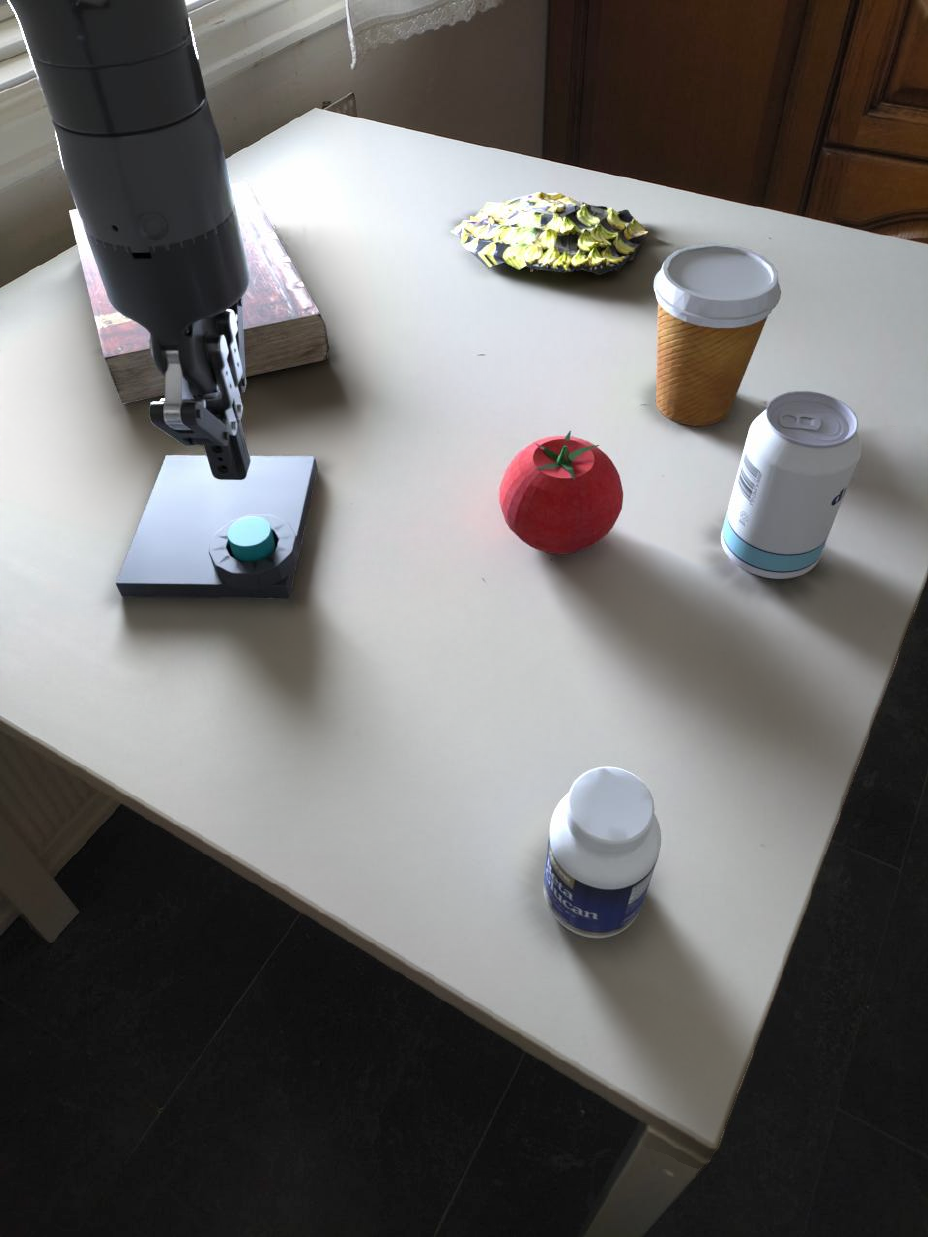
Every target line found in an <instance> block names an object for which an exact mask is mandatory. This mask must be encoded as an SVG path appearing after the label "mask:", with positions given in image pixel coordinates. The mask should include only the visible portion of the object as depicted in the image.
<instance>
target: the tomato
mask: <svg viewBox="0 0 928 1237" xmlns="http://www.w3.org/2000/svg"><path fill="white" fill-rule="evenodd" d="M571 433H572V430H569V431H568V433H567V434H566V435H553V436H547V437H544V438H540V439H538V440H536V441H533V442H531V443H530V444H528V445H527V446H526V447H524V448H522V449H521V450H520V451H519V452H517V454H516V455H515V456H514V457H513V458H512V460H511V461H510V462H509V464H508V465H507V467H506V469H505V471H504V472H503V475H502V478H501V480H500V485H499V490H498V503H499V506H500V508H501V512H502V515H503V518H504V521H505V523H506V524H507V526H508V528H509V529H510V531H512V532H513V533H514V534H515V535H516V537H518V538H519V539H520V541H522V542H523V543H525V545H527V546H529V547H531V548H533V549H535V550H537V551H541V552H544V553H549V554H555V555H556V554H557V555H558V554H559V555H560V554H565V555H566V554H572V553H578V552H580V551H584V550H586V549H588V548H590V547H592V546H594V545H595V544H596V543H598V542H599V541H600V540H602V539H603V538H604V537H606V536H608V534H609V533H610V531H611V530H612V529H613V528H614V526H615V524H616V522H617V520H618V518H619V516H620V514H621V512H622V509H623V504H624V502H623V501H624V489H623V486H622V480H621V475H620V473H619V471H618V470H617V467H616V466H615V464H614V462H613V460H612V459H611V458H610V457H609V456H608V454H606V453H605V452H604V450H601V449H600V448H599V446H600V444H596V445H595V444H594V443H592V442H591V441H588V440H585V439H582V438H579V437H575V436H571Z"/></svg>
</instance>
